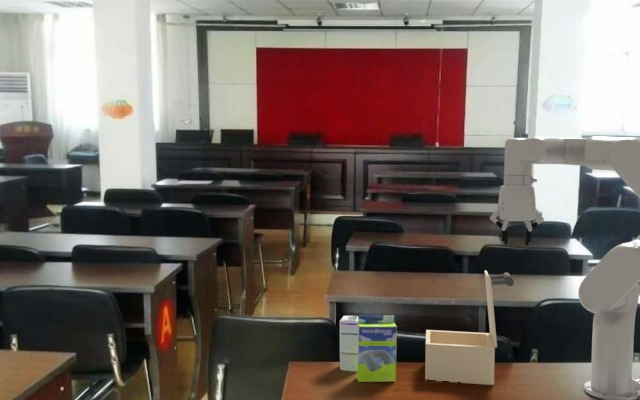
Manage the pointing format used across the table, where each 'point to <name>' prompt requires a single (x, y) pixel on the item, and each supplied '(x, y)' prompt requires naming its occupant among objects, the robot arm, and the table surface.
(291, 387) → the table surface
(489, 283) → the cream panel with handle
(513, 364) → the table surface
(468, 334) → the cream hinged door cabinet
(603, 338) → the robot arm
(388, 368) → the box
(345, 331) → the syrup box
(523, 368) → the table surface
